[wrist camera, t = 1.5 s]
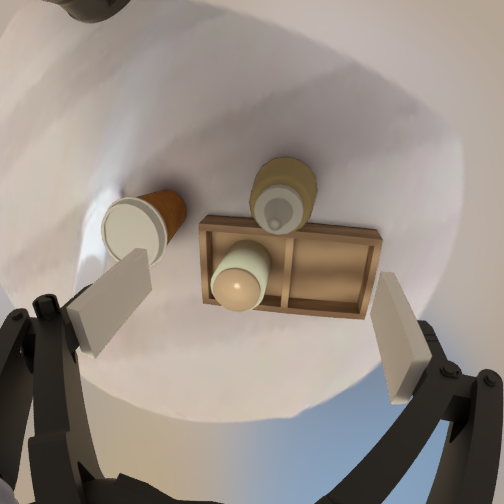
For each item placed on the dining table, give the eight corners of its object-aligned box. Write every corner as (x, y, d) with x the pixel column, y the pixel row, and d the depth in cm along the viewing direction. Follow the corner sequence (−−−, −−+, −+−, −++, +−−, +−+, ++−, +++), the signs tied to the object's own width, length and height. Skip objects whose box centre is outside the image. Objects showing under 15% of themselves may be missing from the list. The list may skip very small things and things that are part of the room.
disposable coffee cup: (158, 167, 43) (114, 184, 32) (208, 204, 44) (176, 232, 33) (132, 215, 47) (89, 242, 36) (177, 249, 48) (143, 286, 37)
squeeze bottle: (314, 212, 42) (320, 271, 26) (258, 209, 43) (228, 265, 27) (317, 155, 39) (327, 177, 23) (258, 153, 40) (225, 174, 24)
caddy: (207, 215, 45) (198, 223, 41) (376, 229, 41) (382, 239, 38) (210, 290, 50) (202, 303, 47) (361, 305, 47) (364, 319, 43)
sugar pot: (225, 237, 45) (207, 264, 37) (272, 241, 44) (264, 269, 36) (225, 279, 48) (210, 311, 40) (270, 284, 47) (262, 317, 39)
